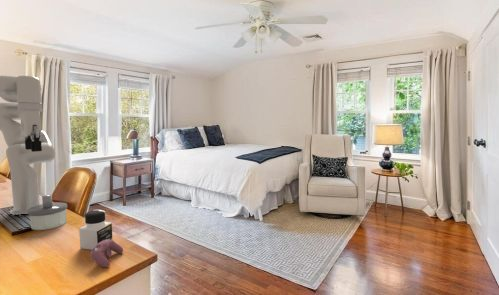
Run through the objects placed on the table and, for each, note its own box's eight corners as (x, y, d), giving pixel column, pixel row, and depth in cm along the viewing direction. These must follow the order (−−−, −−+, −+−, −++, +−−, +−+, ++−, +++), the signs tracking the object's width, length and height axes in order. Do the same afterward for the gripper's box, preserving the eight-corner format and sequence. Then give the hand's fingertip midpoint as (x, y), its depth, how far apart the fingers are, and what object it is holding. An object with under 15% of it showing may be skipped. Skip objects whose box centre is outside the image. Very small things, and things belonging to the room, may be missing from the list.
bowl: (27, 224, 111) (26, 210, 110) (61, 217, 120) (60, 204, 119) (35, 232, 104) (34, 217, 103) (70, 223, 112) (69, 209, 112)
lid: (23, 210, 110) (22, 196, 110) (61, 203, 120) (60, 189, 120) (32, 218, 102) (30, 203, 101) (72, 209, 112) (71, 195, 111)
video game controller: (113, 256, 90) (103, 238, 89) (125, 250, 89) (115, 232, 89) (96, 273, 80) (84, 253, 79) (109, 267, 80) (97, 246, 79)
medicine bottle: (98, 251, 90) (96, 215, 89) (79, 248, 91) (77, 214, 90) (113, 241, 97) (111, 208, 96) (95, 239, 98) (93, 207, 97)
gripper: (13, 107, 112) (17, 149, 114) (23, 107, 101) (27, 153, 102) (36, 108, 117) (39, 147, 119) (47, 107, 106) (50, 151, 108)
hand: (33, 150), depth 111 cm, fingers open, 9 cm apart
